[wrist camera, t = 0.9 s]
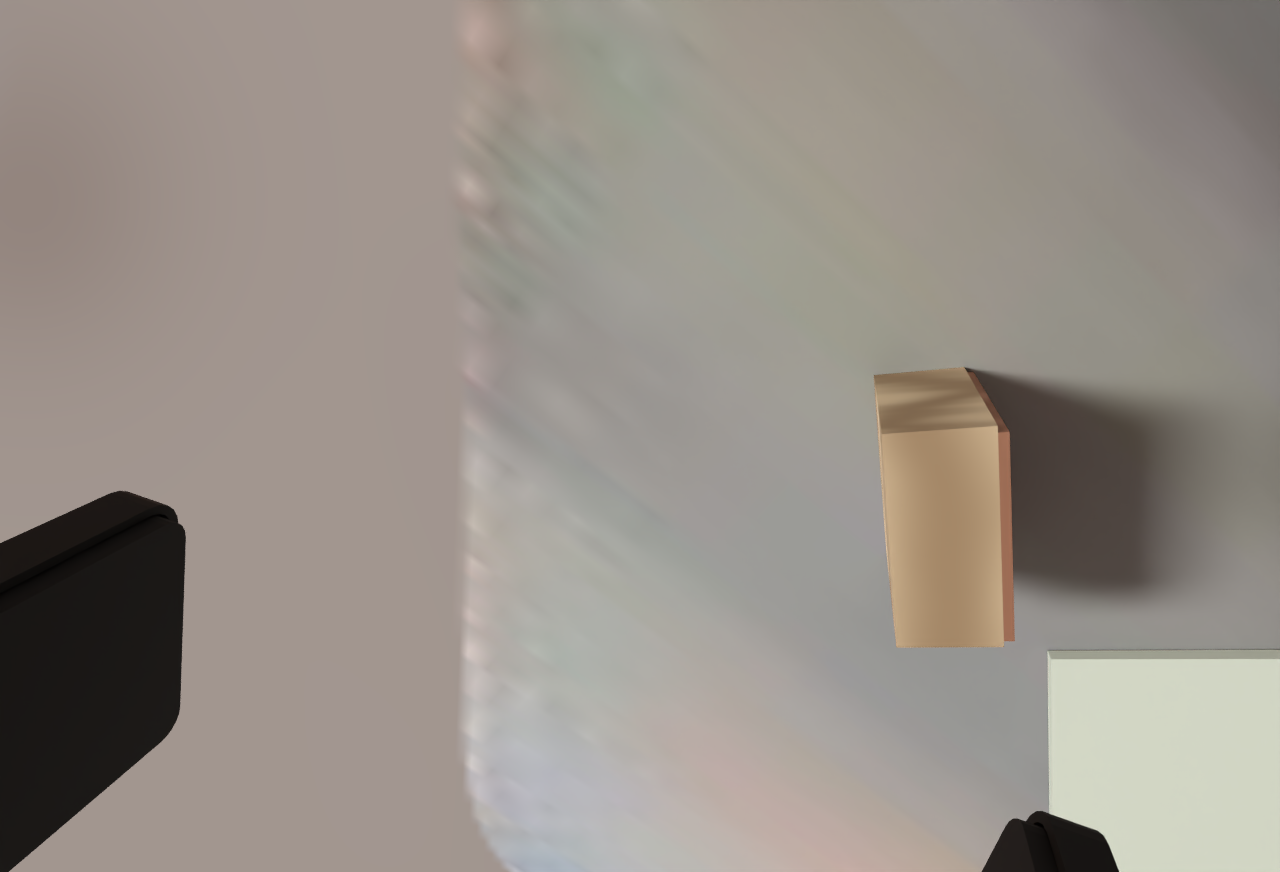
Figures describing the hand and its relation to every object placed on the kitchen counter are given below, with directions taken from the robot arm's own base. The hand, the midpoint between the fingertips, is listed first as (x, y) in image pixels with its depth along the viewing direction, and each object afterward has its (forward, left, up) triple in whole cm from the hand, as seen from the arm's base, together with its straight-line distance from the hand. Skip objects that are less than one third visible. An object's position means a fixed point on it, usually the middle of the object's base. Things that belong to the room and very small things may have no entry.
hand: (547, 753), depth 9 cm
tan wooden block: (-6, +5, -24) cm, 25 cm away
